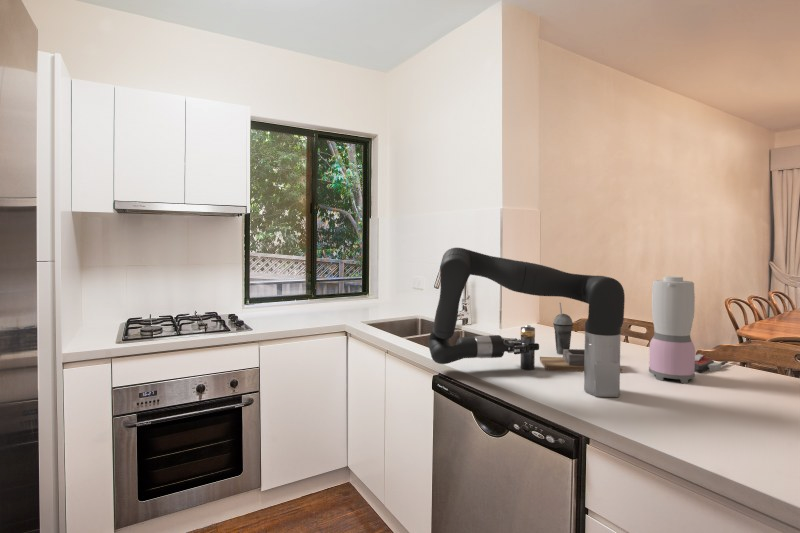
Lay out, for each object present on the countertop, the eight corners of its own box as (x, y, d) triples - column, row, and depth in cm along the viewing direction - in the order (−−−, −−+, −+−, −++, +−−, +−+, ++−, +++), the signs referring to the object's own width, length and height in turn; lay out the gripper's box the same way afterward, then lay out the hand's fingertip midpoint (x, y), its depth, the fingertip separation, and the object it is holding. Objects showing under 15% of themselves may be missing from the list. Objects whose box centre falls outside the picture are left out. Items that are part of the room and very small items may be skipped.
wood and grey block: (622, 372, 138) (622, 349, 138) (546, 370, 141) (547, 347, 141) (608, 362, 150) (609, 341, 150) (539, 360, 153) (539, 339, 153)
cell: (535, 370, 142) (536, 327, 141) (521, 369, 142) (521, 326, 141) (533, 366, 146) (533, 324, 145) (519, 366, 147) (519, 324, 146)
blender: (696, 386, 124) (699, 278, 123) (648, 379, 131) (650, 277, 129) (691, 372, 138) (693, 275, 137) (648, 367, 144) (650, 274, 143)
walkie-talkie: (706, 376, 135) (730, 366, 146) (707, 363, 134) (730, 353, 146) (676, 370, 142) (701, 360, 153) (676, 357, 142) (701, 348, 153)
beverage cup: (574, 356, 159) (575, 304, 158) (554, 355, 161) (554, 303, 160) (570, 351, 166) (571, 301, 166) (551, 350, 168) (551, 301, 167)
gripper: (495, 340, 135) (545, 338, 137) (480, 331, 149) (526, 330, 151) (494, 363, 135) (544, 361, 137) (480, 352, 149) (526, 350, 151)
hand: (534, 344), depth 144 cm, fingers closed on cell, 4 cm apart
